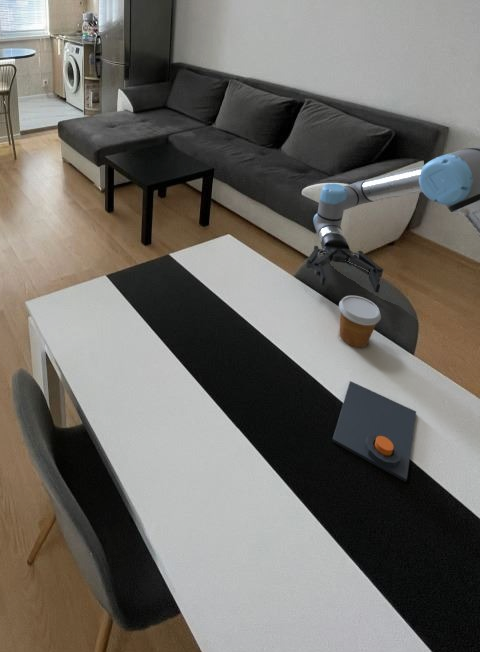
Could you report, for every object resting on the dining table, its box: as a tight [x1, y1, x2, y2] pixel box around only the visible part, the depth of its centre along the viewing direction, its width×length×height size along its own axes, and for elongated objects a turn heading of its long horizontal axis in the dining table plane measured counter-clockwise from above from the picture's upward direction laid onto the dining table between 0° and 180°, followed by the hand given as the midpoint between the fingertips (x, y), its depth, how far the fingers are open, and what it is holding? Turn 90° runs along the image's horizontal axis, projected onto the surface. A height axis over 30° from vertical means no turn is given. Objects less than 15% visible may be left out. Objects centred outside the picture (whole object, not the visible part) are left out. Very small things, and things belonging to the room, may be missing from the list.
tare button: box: [375, 436, 394, 456], centre depth 88 cm, size 3×3×2 cm
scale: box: [331, 380, 417, 483], centre depth 94 cm, size 18×13×4 cm
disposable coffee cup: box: [338, 295, 382, 348], centre depth 115 cm, size 10×10×12 cm
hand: (350, 285), depth 122 cm, fingers open, 13 cm apart
